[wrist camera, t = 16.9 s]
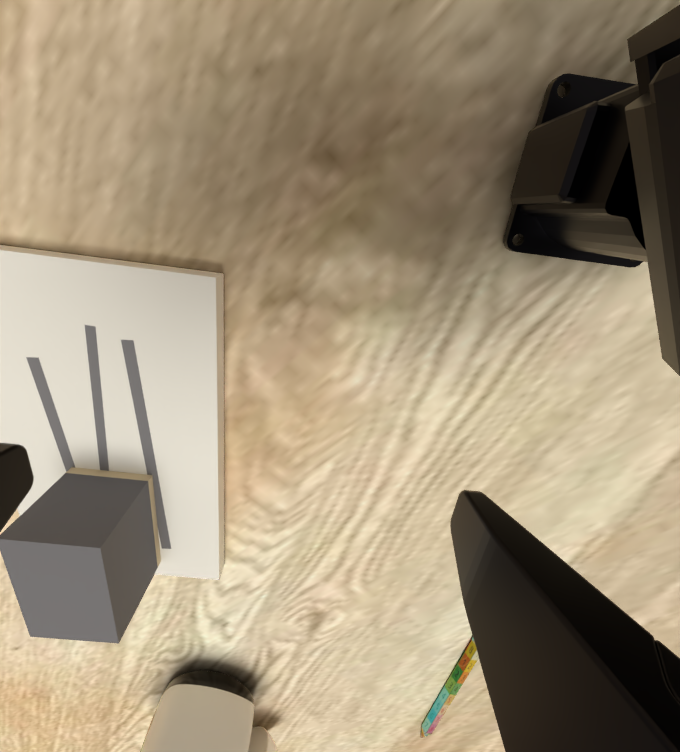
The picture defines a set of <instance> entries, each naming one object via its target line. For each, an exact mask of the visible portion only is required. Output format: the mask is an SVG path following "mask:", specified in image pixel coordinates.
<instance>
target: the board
mask: <svg viewBox="0 0 680 752" xmlns="http://www.w3.org/2000/svg"><path fill="white" fill-rule="evenodd" d="M0 443H11V444H19V445H22V446H24V447H25V448H26V450H27V453H28V457H29V461H30V464H31V468H32V472H33V476H34V481H33V485H32V487H31V489H30V491H29V492H28V494H27V495H26V496H25V498H24V499H23V501H22V502H21V503H20V505H19V506H18V508H17V509H18V512H19V515H20V516H21V515H22V514H23V513H24V512H25V511H26V510H27V509H28V508H29V507H30V506H31V505H32V504H33V503H34V502H35V501H37V500H38V499H39V498H40V497H41V496H42V495H43V494H44V493H45V492H46V491H47V490H48V489H49V488H50V487H51V486H52V485H53V484H54V483H55V482H57V481H58V480H59V479H60V478H61V477H62V476H63V475H64V474H65V473H66V472H67V471H68V470H69V469H70V468H71V467H75V468H85V469H95V470H105V471H115V472H125V473H135V474H145V475H152V477H153V487H154V496H155V506H156V516H157V526H158V535H159V545H160V555H161V562H160V564H159V566H158V568H157V570H156V572H155V574H156V575H167V576H179V577H190V578H202V579H213V580H219V579H220V576H221V573H222V570H223V567H224V273H216V272H208V271H201V270H193V269H185V268H177V267H169V266H162V265H154V264H146V263H138V262H130V261H123V260H115V259H107V258H99V257H92V256H84V255H76V254H68V253H60V252H53V251H45V250H37V249H29V248H21V247H14V246H6V245H0Z"/></svg>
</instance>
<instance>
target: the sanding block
mask: <svg viewBox="0 0 680 752" xmlns="http://www.w3.org/2000/svg"><path fill="white" fill-rule="evenodd" d="M0 551H1V554H2V557H3V560H4V563H5V565H6V568H7V571H8V574H9V577H10V580H11V583H12V585H13V588H14V591H15V594H16V597H17V600H18V603H19V606H20V608H21V611H22V614H23V617H24V620H25V623H26V626H27V628H28V631H29V634H30V637H43V638H56V639H69V640H82V641H95V642H108V643H119V642H120V640H121V638H122V636H123V634H124V632H125V630H126V628H127V626H128V624H129V622H130V621H131V619H132V617H133V615H134V613H135V611H136V609H137V607H138V605H139V603H140V601H141V599H142V597H143V595H144V593H145V591H146V589H147V587H148V585H149V584H150V582H151V580H152V578H153V576H154V574H155V572H156V570H157V568H158V566H159V564H160V562H161V555H160V545H159V535H158V526H157V516H156V506H155V496H154V487H153V477H152V475H145V474H135V473H125V472H115V471H105V470H95V469H85V468H75V467H71V468H70V469H69V470H68V471H67V472H66V473H65V474H64V475H63V476H62V477H61V478H60V479H59V480H58V481H57V482H55V483H54V484H53V485H52V486H51V487H50V488H49V489H48V490H47V491H46V492H45V493H44V494H43V495H42V496H41V497H40V498H39V499H38V500H37V501H35V502H34V503H33V504H32V505H31V506H30V507H29V508H28V509H27V510H26V511H25V512H24V513H23V514H22V515H21V516H20V517H19V518H18V519H17V520H15V521H14V522H13V523H12V524H11V525H10V526H9V527H8V528H7V529H6V530H5V531H4V532H3V533H2V534H1V535H0Z"/></svg>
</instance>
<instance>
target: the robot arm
mask: <svg viewBox="0 0 680 752" xmlns="http://www.w3.org/2000/svg"><path fill="white" fill-rule="evenodd" d="M627 41H628V48H629V55H630V62H632V61H634V60H635V65H636V72H637V80H638V84H629V83H623V82H617V81H611V80H605V79H599V78H593V77H587V76H580V75H574V74H563V75H561V76H559V77H558V78H556V79H554V80H553V81H552V82H551V83H550V84H549V86H548V88H547V90H546V94H545V97H544V100H543V104H542V107H541V111H540V114H539V118H538V121H537V125H536V127H535V128H534V129H532V130H531V131H530V132H529V133H528V137H527V140H526V144H525V147H524V151H523V154H522V158H521V161H520V165H519V168H518V172H517V175H516V179H515V182H514V186H513V189H512V193H511V197H510V198H511V200H512V203H513V207H512V211H511V214H510V218H509V221H508V225H507V228H506V232H505V235H504V240H503V243H504V246H505V247H506V249H508V250H511V251H515V252H522V253H529V254H537V255H544V256H551V257H559V258H566V259H573V260H581V261H588V262H595V263H603V264H610V265H617V266H625V267H636V266H638V265H640V264H641V263H642V262H643V261H645V262H648V267H649V273H650V280H651V287H652V293H653V300H654V307H655V313H656V320H657V326H658V333H659V340H660V346H661V353H662V359H663V360H664V361H665V362H666V363H667V364H668V365H669V366H670V367H671V368H672V369H673V370H674V371H675V372H676V373H677V374H678V375H679V376H680V5H679V6H677V7H676V8H674V9H673V10H671V11H670V12H668V13H667V14H665V15H664V16H662V17H661V18H659V19H658V20H656V21H654V22H653V23H651V24H650V25H648V26H647V27H645V28H644V29H642V30H641V31H639V32H638V33H636V34H635V35H633V36H632V37H630V38H629V39H627ZM559 85H562V86H564V88H565V94H564V96H563V98H561V97H559V96H558V93H557V90H558V87H559ZM516 234H519V236H520V241H519V242H518V243H517V244H516V245H514V244H513V242H512V241H513V237H514V236H515V235H516ZM630 259H631V260H630ZM33 481H34V476H33V472H32V468H31V464H30V461H29V457H28V453H27V450H26V448H25V447H24V446H22V445H19V444H11V443H0V532H1V530H2V529H3V527H4V526H5V525H6V523H7V522H8V520H9V519H10V518H11V516H12V515H13V513H14V512H15V511H16V509H17V508H18V506H19V505H20V503H21V502H22V501H23V499H24V498H25V496H26V495H27V494H28V492H29V491H30V489H31V487H32V485H33ZM451 534H452V540H453V545H454V551H455V557H456V563H457V568H458V574H459V580H460V585H461V591H462V596H463V601H464V605H465V609H466V613H467V617H468V620H469V624H470V627H471V631H472V635H473V638H474V642H475V645H476V649H477V652H478V656H479V659H480V663H481V666H482V670H483V674H484V677H485V681H486V684H487V688H488V691H489V695H490V698H491V702H492V705H493V709H494V713H495V716H496V720H497V723H498V727H499V730H500V734H501V737H502V741H503V744H504V748H505V752H680V658H679V657H678V656H676V655H675V654H674V653H673V652H672V651H670V650H669V649H668V648H667V647H666V646H664V645H663V644H662V643H661V642H660V641H658V640H654V637H653V636H652V635H651V634H650V633H649V632H648V631H646V630H645V629H644V628H643V627H642V626H640V625H639V624H638V623H637V622H636V621H635V620H633V619H632V618H631V617H630V616H629V615H627V614H626V613H625V612H624V611H623V610H621V609H620V608H619V607H618V606H617V605H615V604H614V603H613V602H612V601H611V600H610V599H608V598H607V597H606V596H605V595H604V594H602V593H601V592H600V591H599V590H598V589H596V588H595V587H594V586H593V585H592V584H591V583H589V582H588V581H587V580H586V579H585V578H583V577H582V576H581V575H580V574H579V573H577V572H576V571H575V570H574V569H573V568H571V567H570V566H569V565H568V564H567V563H566V562H564V561H563V560H562V559H561V558H560V557H558V556H557V555H556V554H555V553H554V552H552V551H551V550H550V549H549V548H548V547H546V546H545V545H544V544H543V543H542V542H541V541H539V540H538V539H537V538H536V537H535V536H533V535H532V534H531V533H530V532H529V531H527V530H526V529H525V528H524V527H523V526H521V525H520V524H519V523H518V522H517V521H516V520H514V519H513V518H512V517H511V516H510V515H508V514H507V513H506V512H505V511H504V510H502V509H501V508H500V507H499V506H498V505H496V504H495V503H494V502H493V501H492V500H491V499H489V498H488V497H487V496H486V495H485V494H483V493H482V492H478V491H469V490H464V491H462V492H461V493H460V494H459V497H458V500H457V503H456V506H455V509H454V512H453V515H452V518H451Z"/></svg>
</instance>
